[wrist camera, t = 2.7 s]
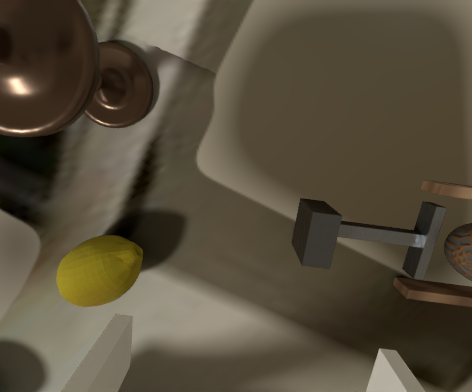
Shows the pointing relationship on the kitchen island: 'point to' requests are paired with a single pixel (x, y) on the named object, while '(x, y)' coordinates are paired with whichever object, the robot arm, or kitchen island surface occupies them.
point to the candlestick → (64, 71)
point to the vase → (460, 250)
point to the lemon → (99, 270)
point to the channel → (435, 289)
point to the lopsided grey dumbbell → (363, 235)
